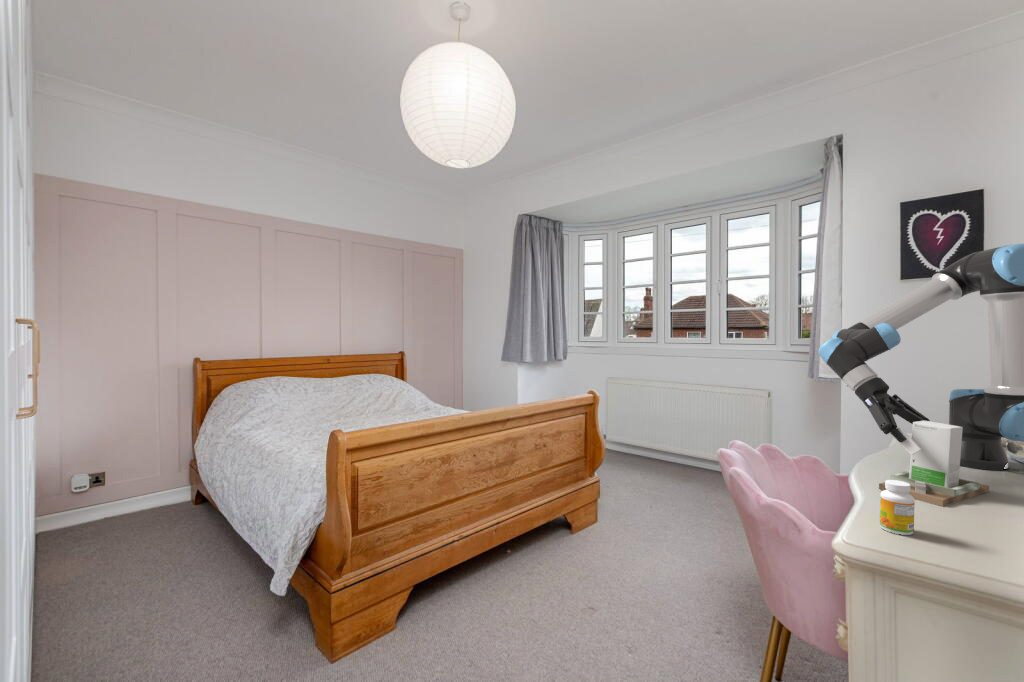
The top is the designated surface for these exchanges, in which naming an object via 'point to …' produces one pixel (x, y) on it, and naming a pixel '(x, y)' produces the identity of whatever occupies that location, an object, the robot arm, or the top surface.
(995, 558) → the top surface
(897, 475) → the board
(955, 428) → the skincare box
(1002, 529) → the top surface
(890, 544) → the top surface
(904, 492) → the supplement bottle
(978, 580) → the top surface
